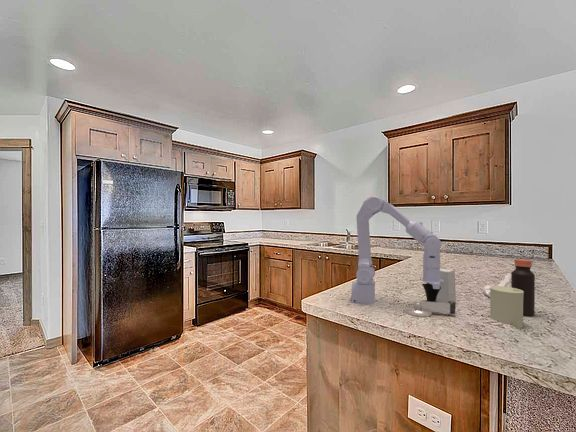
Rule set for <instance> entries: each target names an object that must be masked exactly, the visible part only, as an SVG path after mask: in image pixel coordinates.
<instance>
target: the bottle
mask: <svg viewBox="0 0 576 432" xmlns="http://www.w3.org/2000/svg"><path fill="white" fill-rule="evenodd" d="M514 267H515V269H514V270H513V271H511V273H510V274H511V275H510V276H511V281H510V284H511V288H516V289H520V290H522V291H524V294H523V317H533V316H535V299H536V298H535V294H536V293H535V291H536V289H535V287H536V286H535V285H536V284H535V280H536V279H535V278H536V275H535V274H534V272H532V270H531V269H532V260H529V259H523V258H522V259H520V258H519V259H517V258H516V259H514Z"/></svg>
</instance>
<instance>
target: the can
mask: <svg viewBox="0 0 576 432" xmlns="http://www.w3.org/2000/svg"><path fill="white" fill-rule="evenodd" d="M523 294H524V291H522V290H520V289H516V288H511V287H510V286H507V287H504V286H498V285H494V286H491V287H490V297H489V298H490V301H489V303H490V307H489V308H490V311H489V313H490V314H489V316H490V318H491V319H492V320H494V321H496V322H498V323H499V322H500V323H503V324H509V325H511V326H512V327H514V328H515V329H522V328H524V326H525V325H524V316H523Z"/></svg>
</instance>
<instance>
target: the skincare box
mask: <svg viewBox="0 0 576 432" xmlns="http://www.w3.org/2000/svg"><path fill="white" fill-rule="evenodd" d="M455 271H456V270H455V269H450V268H449V269H448V268H441V267H440V279H442V280H444V282H440V287H441V289H440V291H439V292H438V295H437V298H436V301H440V302H448V301H453V302H455V305H457V294H456V291H457V290H456V272H455Z"/></svg>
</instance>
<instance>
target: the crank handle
mask: <svg viewBox="0 0 576 432" xmlns="http://www.w3.org/2000/svg"><path fill="white" fill-rule="evenodd" d="M403 310H404V311H403V312H405V313H406V314H408V315H410V316H413V317H418V318H419V317H420V318H429V317H432V316H433V315H432V314H433V313H444V314H445V313H446V314H452V315H455V314H456V304H455V302H453V301H448V302H440V301H427V299H426V300H424V299H421V300H420V301H414V303H413V305H411V304H410V305H405V306H404V309H403Z"/></svg>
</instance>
